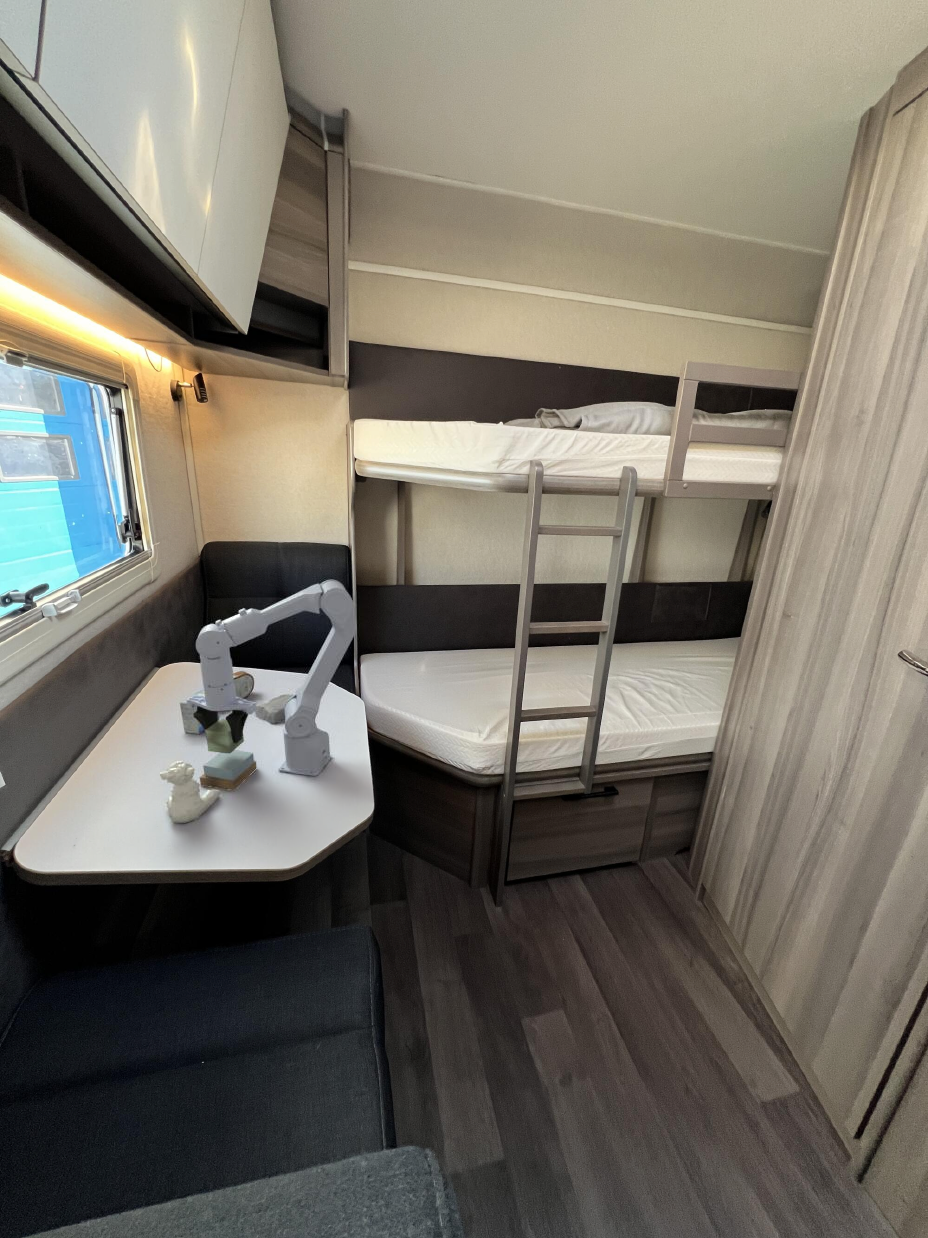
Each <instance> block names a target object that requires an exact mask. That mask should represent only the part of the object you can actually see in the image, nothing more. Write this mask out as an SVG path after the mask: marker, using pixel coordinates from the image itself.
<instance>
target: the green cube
mask: <svg viewBox="0 0 928 1238" xmlns="http://www.w3.org/2000/svg"><path fill="white" fill-rule="evenodd" d="M205 735H206V745H207V751H208V752H213V753H228V754H230V753H231V752H233V751H234V750H237V748H238V747H239V746H241V745H242V744H243V743H244V742H245V739H244V738H245V737H244V733H243V734H242V739H241V740H240V741H239V742H238V743H233V740H232V735H231V729H230V726H229V724H228V722H227V720H226V718H219V720H218V721H217V722H216V723H215V724H213V725H212V726H211V727H209V728H208V729H207V730H206V732H205Z"/></svg>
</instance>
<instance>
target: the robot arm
mask: <svg viewBox="0 0 928 1238" xmlns="http://www.w3.org/2000/svg"><path fill="white" fill-rule="evenodd" d="M320 609H321V610H322V611H323V612H324V614H325V615H326V616H327V617H328V618H329V620H330V623H331V625H332V627H331V629H330V631H329V633H328V635H327V637H326V639H325V641H324V643H323V645H322V646H321V648H320V650H319V651H318V654H317V656H316V659H315V660H314V662H313V664H312V666H311V668H310V670H309V671H308V673H307V675H306V677H305V679H304V680H303V684H302V685H301V686H300V687H299V688H297V689H296V691H295V692H294V694H293V696H292V697H291V698H290V699H288V700H287V702H286V703H285V705H284V713H285V719H284V720H285V721H284V722H285V723H284V727H283V730H282V731H283V732H282V733H283V741H284V742H283V743H284V752H285V753H284V755H285V756H284V757H285V761H284V762H283V763H282V764H281V765H280V766H279V767H278V771H279V772H285V773H290V774H291V773H292V774H298V775H299V774H300V775H306V776H311V777H313V776H314V777H316V776H318V775H319V773H321V771H322V770H323V769H324V768H325V766H326V765H327V764H328V762H330V761H331V759H332V755H331V750H330V749H331V748H330V736H329V733H328V732H327V731H325V730H322V729H319V728H318V726H317V723H316V718H317V715H318V713H319V710H320V705H321V700H322V698H323V696H324V694H325V692H326V691H327V688H328V686H329V684H330V682H331V680H332V679H333V677H334V675H335V673H336V671H337V669H338V667H339V665H340V663H341V661H342V660H343V658H344V655H345V654H346V652H347V650H348V648H349V646H350V644H351V642H352V641H353V639H354V637H355V634H357V630H358V628H357V627H358V626H357V617H356V605H355V603H354V601H353V599H352V597H351V595H350V594H349V592H348V591H347V589H346V587H345V586H344V585H343V583H341V582H340V581H338V580H336V579H327V580H325V581H323V582H321V583H315V584H312V585H310V586H308V587H306V588H305V589H302V590H300V591H298V592H296V593H295V594H292V595H291V596H288V597H286V598H284V599H282V600H280V601H277V602H276V603H274V604H272V605H270V606H268V607H266V608H264V609H261V610H260V609H256V608H252V607H251V608H249V609H246V608H244V607H243V608H242V609H239V610H238V614H235V615H233V616H231V617H228V618H226V619H224V620H221V619H218V620H216V621H215V624H214V623H210V624H207V625H205V626H203V628H201V630H200V632H199V634H198V636H197V637H196V638H197V639H196V641H195V649H196V651H197V653H198V654H199V659H200V671H201V678H202V679H201V680H202V686H203V690H204V694H205V696H193V695H192V697H191V696H190V698H189V697H188V698H189V699H188V698H186V699H187V706H188V708H193V707H197V711H196V712H195V713H194V714H193V716H194V718H196V719H197V720H198V721H199V723H200V724H201V725H202V726H203V728H204V731H205V733H206V730H207V729H208V728H209V727H211V726H212V725H213V724H215V723H216V722H217V721H219V720H218V712H220V711H221V712H223V711H231V713H229V714H228V715H227V716H225V719H226V720H227V722H228V724H229V726H230V729H231V735H232V740H233V743H238V742H239V741H240V740H241V739H242V734H243V735H244V727H245V724H246V721H247V718H248V717H249V716H250V715H252V714H254V713H255V711H256V706H257V704H256V701H250V700H247V699H246V698H245V699H242V698H239V697H236V693H235V685H234V677H233V673H234V670H233V660H232V658H231V652H230V648H232V647H237V646H238V645H241V644H243V643H245V642H247V641H249V640H252V639H255V638H256V637H259V636H262V635H263V634H265V633H266V631H267V629H268V626H270V625H272V624H274V623H276V622H277V623H278V622H280V621H281V620H285V619H286V618H288V617H291V616H294V615H297V614H299V613H302V612H309V613H315V614H318V615H319V614H321V613H320Z"/></svg>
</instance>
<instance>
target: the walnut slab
mask: <svg viewBox="0 0 928 1238" xmlns="http://www.w3.org/2000/svg"><path fill="white" fill-rule="evenodd" d="M256 768H258V767H257V761H256V760H254V763H253V764H252V765H251V766H250V767H249V768H247V769H246V770H245V771H244V772H243V773H242V774H240V775H239V776H238V777H237V778H236V779H235V780H233V781H231V780H225V779H220V778H215V777H210V776H205V775H204V773H203V774H201V775H200V776H199V784H200V786H202V785H203V786H204V787H208V786H211V787H210V788H215V787H217V788H216V789H221V788H222V789H223V790H228V789H229V790H228V791H236V790H237V787H238V786H239V785H240V784H241V783H242V782H243V781H244V780H245V779H246V778H247V777H248V776H249V775H250V774H251V773H252V772H253V771H254V770H255V769H256ZM256 770H257V769H256ZM256 770H255V771H256ZM255 771H254V772H255ZM254 772H253V773H254ZM253 773H252V774H253ZM252 774H251V775H252ZM251 775H250V776H251ZM250 776H249V777H250ZM249 777H248V778H249ZM248 778H247V779H248ZM247 779H246V780H247ZM246 780H245V781H246ZM243 783H244V782H243ZM241 785H242V784H241ZM241 785H240V786H241ZM240 786H239V787H240Z"/></svg>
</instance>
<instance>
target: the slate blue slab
mask: <svg viewBox="0 0 928 1238" xmlns="http://www.w3.org/2000/svg"><path fill="white" fill-rule="evenodd" d="M254 758H255V757H254V752H249V751H244V750H238V749H235V750H234V751H233V752H231V753H230V754H228V753H220V752H218V754H216V755H214V757H213V758H212V759H210V760H208V761H207V762H206V763H204V764H203V772H204V773H203V774H204V775H205V776H210V777H215V778H220V779H225V780H231V781H233V780H235V779H236V778H237V777H238V776H239V775H240V774H242V773H243V772H244V771H245V770H246V769H247V768H249V767H250V766H251V765H252V764H253V763H254V761H255V759H254Z"/></svg>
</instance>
